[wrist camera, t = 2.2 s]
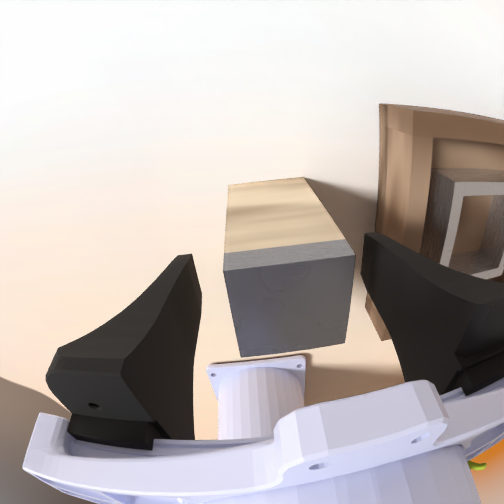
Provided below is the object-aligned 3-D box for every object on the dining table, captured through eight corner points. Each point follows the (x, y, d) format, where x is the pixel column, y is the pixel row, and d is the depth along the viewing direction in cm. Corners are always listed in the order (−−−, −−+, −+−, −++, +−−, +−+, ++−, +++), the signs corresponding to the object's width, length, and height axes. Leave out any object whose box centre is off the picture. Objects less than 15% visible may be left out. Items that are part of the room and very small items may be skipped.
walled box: (486, 279, 20) (508, 303, 17) (364, 306, 21) (381, 341, 18) (518, 124, 13) (551, 136, 10) (379, 103, 13) (412, 110, 10)
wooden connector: (305, 242, 18) (344, 342, 11) (237, 249, 18) (240, 357, 11) (303, 177, 16) (355, 254, 9) (228, 185, 16) (223, 270, 9)
